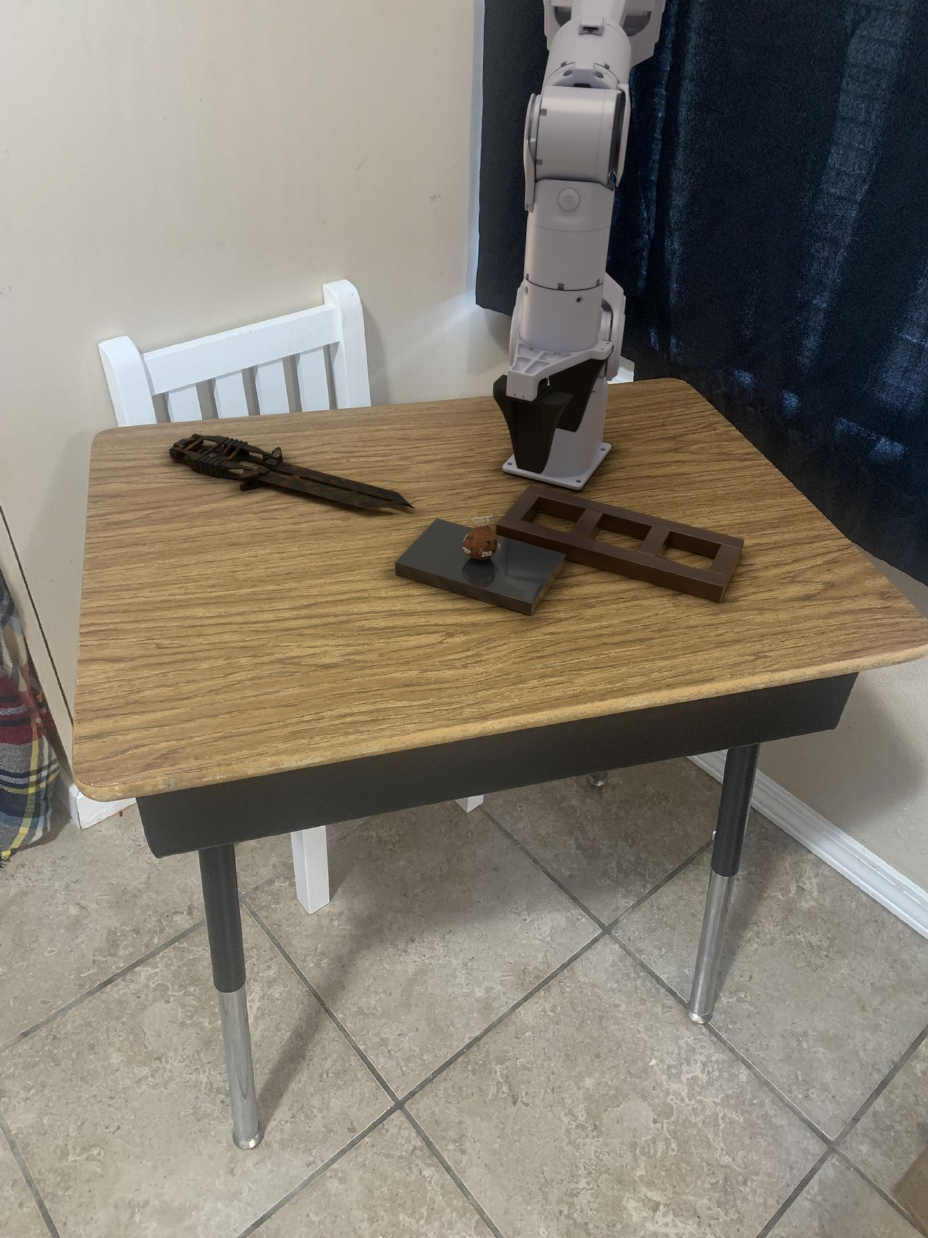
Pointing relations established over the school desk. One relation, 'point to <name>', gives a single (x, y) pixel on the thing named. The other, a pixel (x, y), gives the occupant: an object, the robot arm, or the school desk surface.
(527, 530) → the rack
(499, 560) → the board
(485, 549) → the chocolate
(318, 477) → the knife
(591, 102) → the robot arm
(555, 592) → the school desk surface
